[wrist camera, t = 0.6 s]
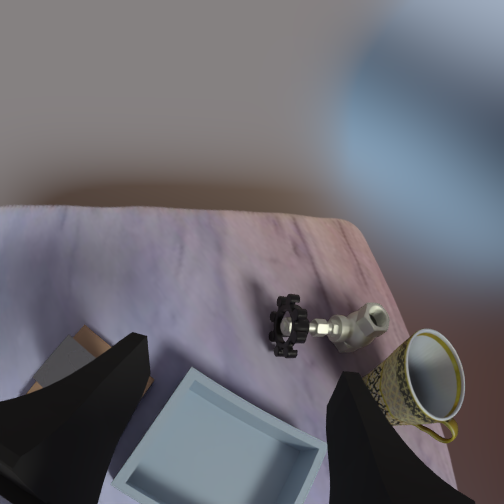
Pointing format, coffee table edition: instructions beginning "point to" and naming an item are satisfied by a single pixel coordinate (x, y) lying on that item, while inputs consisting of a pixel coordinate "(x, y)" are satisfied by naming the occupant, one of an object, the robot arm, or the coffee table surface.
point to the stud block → (91, 351)
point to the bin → (219, 452)
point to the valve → (325, 327)
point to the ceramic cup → (420, 383)
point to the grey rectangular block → (63, 362)
